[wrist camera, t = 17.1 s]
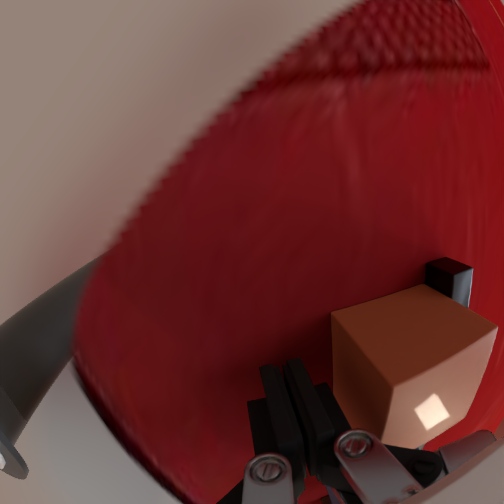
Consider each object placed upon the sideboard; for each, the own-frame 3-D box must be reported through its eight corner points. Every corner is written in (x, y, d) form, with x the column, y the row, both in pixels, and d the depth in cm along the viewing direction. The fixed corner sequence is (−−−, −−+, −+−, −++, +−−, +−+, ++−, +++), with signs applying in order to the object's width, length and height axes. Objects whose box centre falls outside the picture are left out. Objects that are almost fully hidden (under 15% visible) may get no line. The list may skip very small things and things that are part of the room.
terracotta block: (332, 395, 12) (371, 470, 7) (329, 311, 11) (392, 387, 6) (413, 364, 12) (465, 417, 7) (423, 282, 11) (499, 326, 6)
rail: (371, 495, 17) (377, 508, 15) (425, 262, 11) (453, 275, 9) (384, 490, 17) (390, 502, 15) (445, 256, 11) (473, 267, 9)
